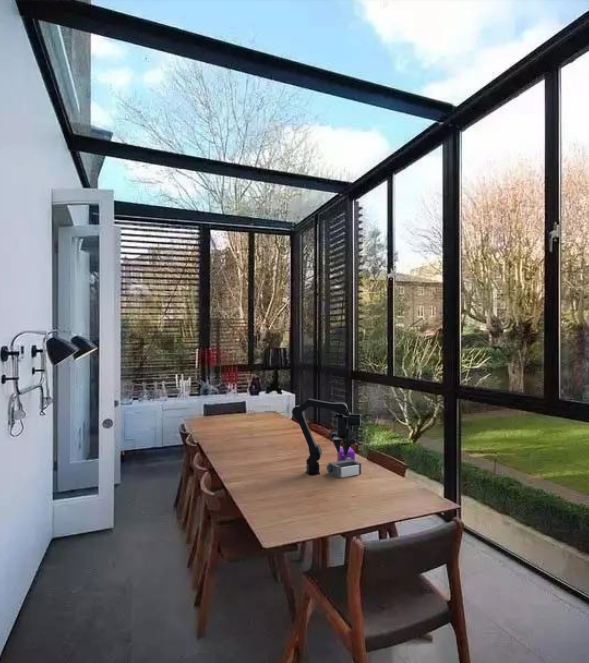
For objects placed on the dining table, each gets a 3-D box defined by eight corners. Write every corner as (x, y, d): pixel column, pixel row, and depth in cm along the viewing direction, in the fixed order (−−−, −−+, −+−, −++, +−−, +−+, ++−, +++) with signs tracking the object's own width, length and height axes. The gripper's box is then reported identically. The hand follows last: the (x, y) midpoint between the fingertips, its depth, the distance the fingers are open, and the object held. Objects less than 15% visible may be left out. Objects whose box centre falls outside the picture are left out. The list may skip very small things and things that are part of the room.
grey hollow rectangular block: (335, 478, 231) (335, 467, 231) (326, 473, 239) (326, 462, 239) (361, 473, 239) (361, 463, 239) (352, 469, 247) (352, 459, 247)
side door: (341, 477, 232) (341, 468, 232) (340, 476, 233) (340, 467, 233) (358, 474, 237) (358, 465, 237) (357, 473, 238) (357, 464, 238)
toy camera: (342, 470, 246) (342, 452, 246) (334, 463, 259) (334, 446, 259) (359, 468, 249) (359, 451, 249) (350, 462, 262) (350, 445, 262)
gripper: (364, 427, 232) (363, 456, 232) (344, 421, 249) (344, 448, 248) (346, 429, 227) (346, 458, 227) (328, 423, 244) (328, 450, 243)
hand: (342, 453), depth 236 cm, fingers open, 7 cm apart
